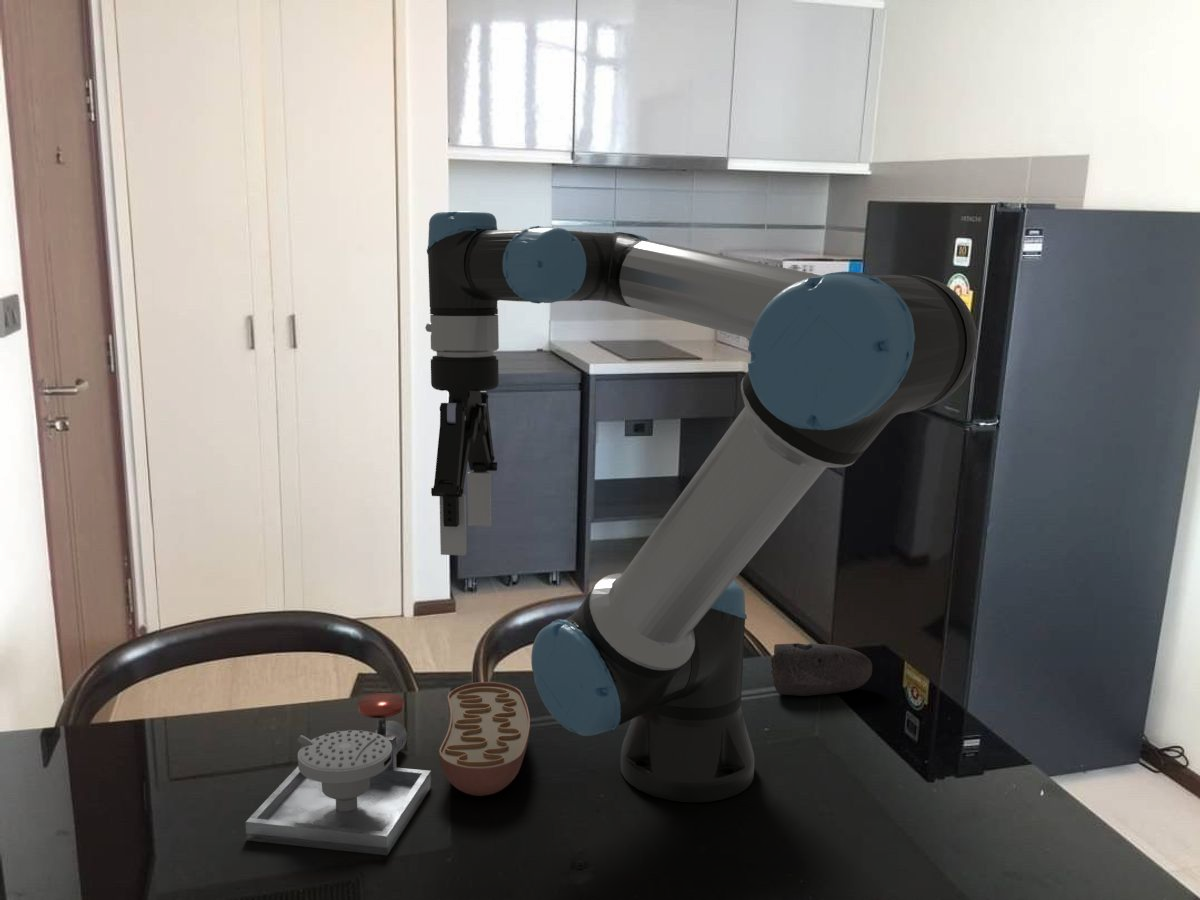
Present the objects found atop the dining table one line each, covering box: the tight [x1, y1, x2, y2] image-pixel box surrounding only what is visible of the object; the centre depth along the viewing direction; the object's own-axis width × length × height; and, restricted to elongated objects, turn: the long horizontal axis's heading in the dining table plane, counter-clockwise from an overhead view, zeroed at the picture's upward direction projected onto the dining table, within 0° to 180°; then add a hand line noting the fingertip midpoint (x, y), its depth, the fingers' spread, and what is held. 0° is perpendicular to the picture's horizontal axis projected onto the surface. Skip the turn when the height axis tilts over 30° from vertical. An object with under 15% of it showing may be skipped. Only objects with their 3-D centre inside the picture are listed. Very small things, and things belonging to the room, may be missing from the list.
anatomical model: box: [438, 681, 531, 797], centre depth 120 cm, size 23×10×5 cm, turn 5°
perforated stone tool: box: [770, 642, 873, 697], centre depth 141 cm, size 15×5×7 cm, turn 99°
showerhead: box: [296, 729, 392, 812], centre depth 107 cm, size 9×7×10 cm
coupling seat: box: [245, 692, 432, 856], centre depth 111 cm, size 22×14×7 cm
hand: (467, 539), depth 120 cm, fingers open, 13 cm apart
